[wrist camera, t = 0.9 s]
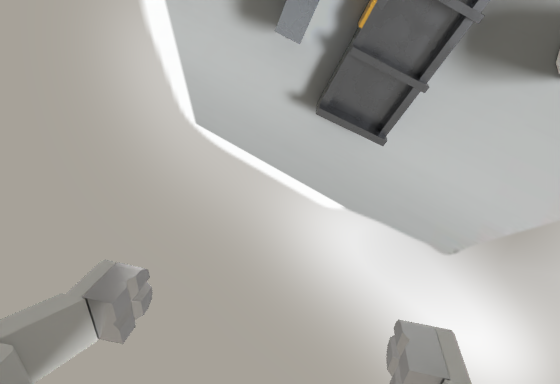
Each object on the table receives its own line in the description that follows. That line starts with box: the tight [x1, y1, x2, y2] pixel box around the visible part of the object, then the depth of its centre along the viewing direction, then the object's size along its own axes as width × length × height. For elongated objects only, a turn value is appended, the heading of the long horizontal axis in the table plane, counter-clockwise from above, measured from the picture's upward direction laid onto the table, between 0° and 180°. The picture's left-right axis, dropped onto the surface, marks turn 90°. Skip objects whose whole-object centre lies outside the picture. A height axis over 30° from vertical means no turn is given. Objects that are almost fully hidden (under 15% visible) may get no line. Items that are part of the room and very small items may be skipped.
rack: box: [316, 0, 490, 146], centre depth 34 cm, size 25×10×6 cm, turn 157°
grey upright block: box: [275, 0, 319, 44], centre depth 34 cm, size 6×3×5 cm, turn 157°
